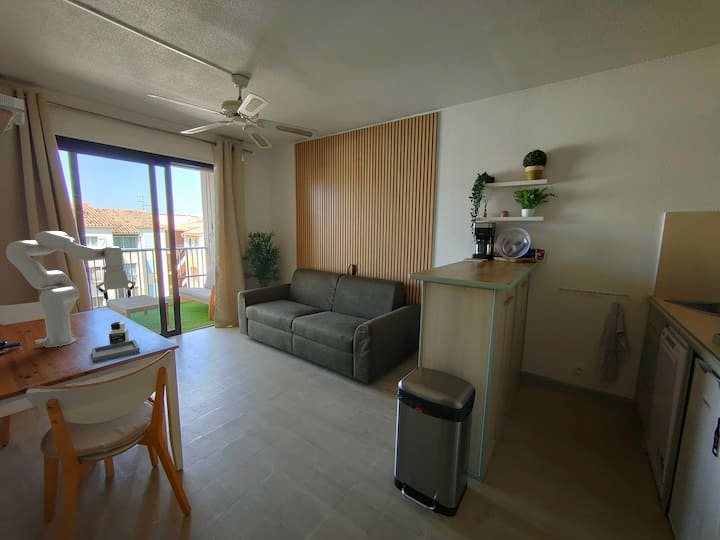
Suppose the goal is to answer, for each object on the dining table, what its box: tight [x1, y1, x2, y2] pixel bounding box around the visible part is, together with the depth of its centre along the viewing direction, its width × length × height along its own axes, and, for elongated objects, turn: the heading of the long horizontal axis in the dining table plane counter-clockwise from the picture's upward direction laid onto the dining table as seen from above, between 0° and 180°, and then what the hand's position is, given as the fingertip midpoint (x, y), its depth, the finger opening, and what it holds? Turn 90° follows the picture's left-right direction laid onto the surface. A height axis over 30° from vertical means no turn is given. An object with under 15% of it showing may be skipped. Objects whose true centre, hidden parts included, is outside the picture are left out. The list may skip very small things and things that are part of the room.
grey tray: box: [91, 339, 140, 363], centre depth 152 cm, size 18×16×2 cm
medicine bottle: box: [108, 321, 130, 345], centre depth 164 cm, size 7×7×12 cm
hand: (118, 298), depth 163 cm, fingers open, 9 cm apart
